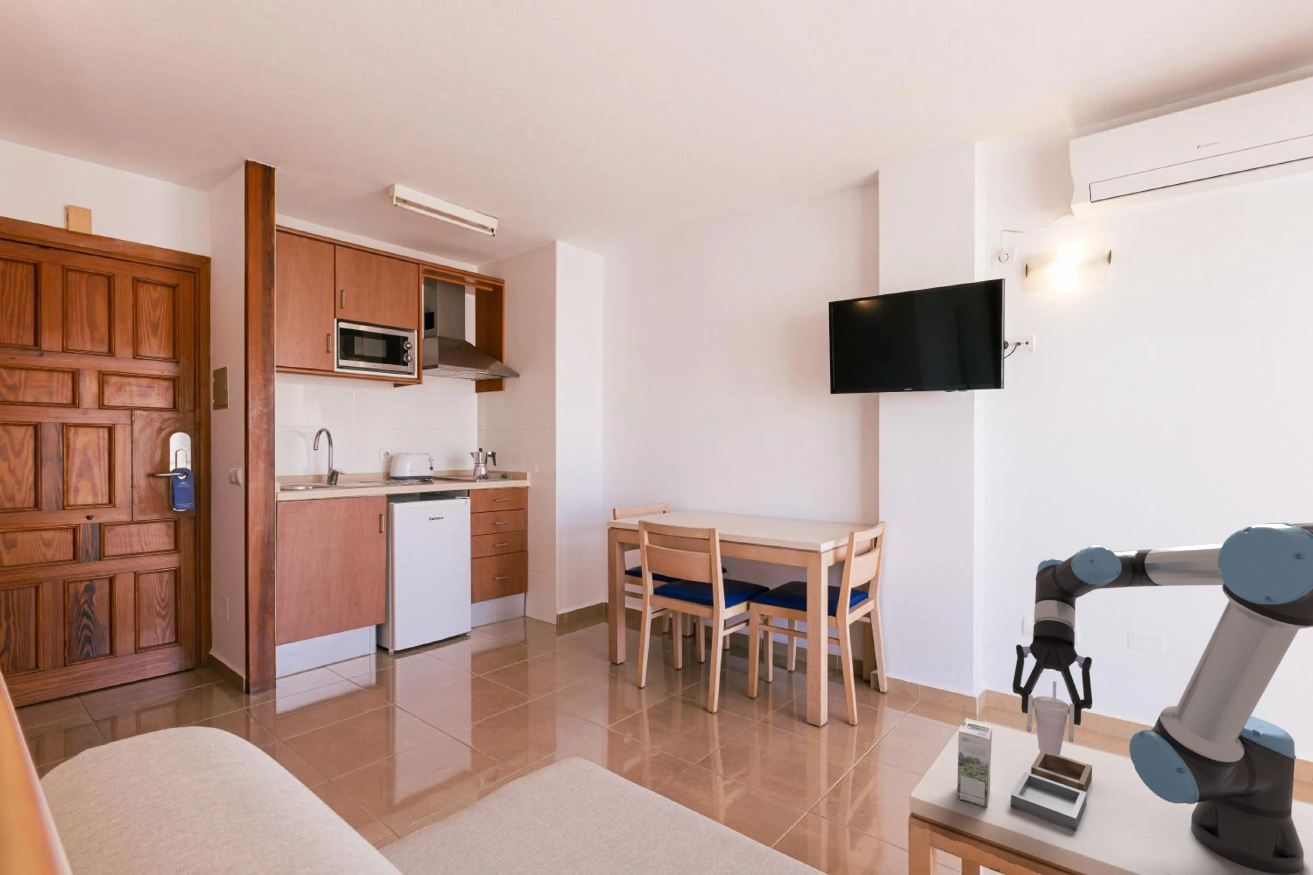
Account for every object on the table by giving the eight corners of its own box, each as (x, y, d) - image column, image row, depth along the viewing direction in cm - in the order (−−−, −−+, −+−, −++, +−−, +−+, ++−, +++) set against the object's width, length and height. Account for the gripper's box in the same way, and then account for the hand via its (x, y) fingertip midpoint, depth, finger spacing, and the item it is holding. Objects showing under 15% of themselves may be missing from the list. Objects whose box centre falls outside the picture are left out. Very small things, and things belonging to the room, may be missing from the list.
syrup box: (990, 793, 133) (992, 725, 132) (987, 809, 128) (989, 737, 127) (960, 785, 136) (961, 717, 136) (956, 799, 131) (957, 730, 131)
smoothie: (1074, 760, 125) (1076, 690, 125) (1037, 757, 127) (1039, 687, 126) (1060, 743, 132) (1062, 676, 131) (1026, 740, 133) (1028, 673, 132)
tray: (1086, 804, 130) (1086, 792, 130) (1075, 831, 122) (1076, 818, 121) (1024, 782, 137) (1025, 771, 137) (1010, 806, 129) (1011, 794, 129)
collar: (1091, 778, 139) (1092, 765, 138) (1083, 798, 132) (1083, 784, 131) (1041, 762, 145) (1041, 749, 145) (1030, 780, 138) (1031, 766, 138)
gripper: (1107, 644, 136) (1108, 755, 123) (1003, 627, 146) (994, 728, 133) (1109, 627, 131) (1111, 741, 118) (1002, 610, 141) (993, 713, 129)
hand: (1049, 734), depth 126 cm, fingers closed on smoothie, 6 cm apart
